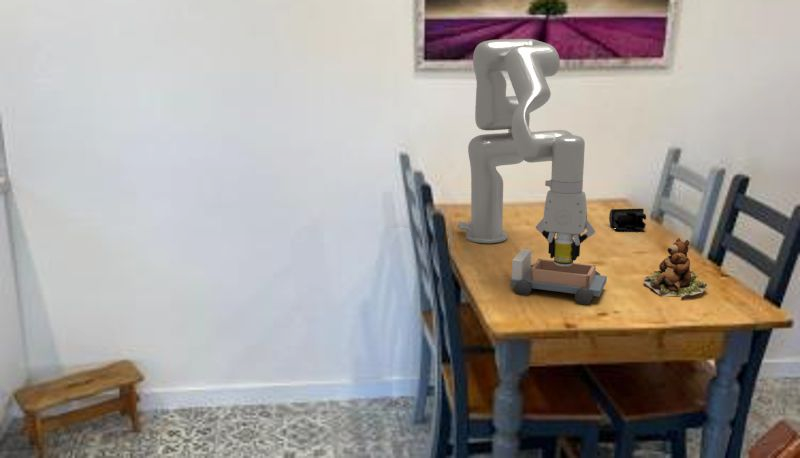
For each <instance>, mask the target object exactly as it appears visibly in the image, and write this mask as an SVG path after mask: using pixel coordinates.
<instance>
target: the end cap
mask: <svg viewBox="0 0 800 458" xmlns="http://www.w3.org/2000/svg"><path fill="white" fill-rule="evenodd" d="M608 220H609V221H608V222H609V226H610V228H611V229H613V230H614V231H615V233H638V232H644V233H645V229H646V226H647V223H646V222H644V221H645V220H647V214H646V213H644V208H611V209H610V211H609V215H608ZM614 228H616V229H614Z"/></svg>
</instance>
